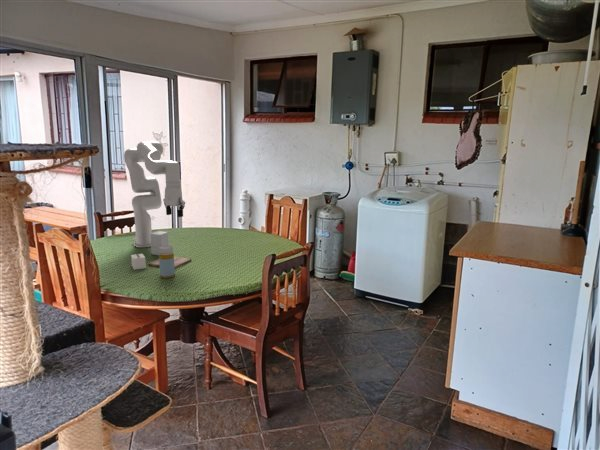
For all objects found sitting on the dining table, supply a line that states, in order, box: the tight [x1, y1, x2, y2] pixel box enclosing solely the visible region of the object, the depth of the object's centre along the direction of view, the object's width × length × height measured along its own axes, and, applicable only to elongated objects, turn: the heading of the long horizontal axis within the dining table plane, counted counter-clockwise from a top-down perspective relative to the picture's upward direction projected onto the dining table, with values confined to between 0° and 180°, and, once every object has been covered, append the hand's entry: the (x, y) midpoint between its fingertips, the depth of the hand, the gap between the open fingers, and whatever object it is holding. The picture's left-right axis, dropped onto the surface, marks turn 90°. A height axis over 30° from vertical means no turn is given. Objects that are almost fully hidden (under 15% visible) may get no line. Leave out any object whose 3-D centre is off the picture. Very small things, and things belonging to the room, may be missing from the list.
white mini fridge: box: [130, 253, 147, 271], centre depth 220 cm, size 6×7×6 cm
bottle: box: [158, 245, 176, 279], centre depth 206 cm, size 7×7×15 cm
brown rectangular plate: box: [148, 252, 192, 269], centre depth 227 cm, size 16×16×5 cm
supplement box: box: [150, 230, 170, 256], centre depth 244 cm, size 7×7×13 cm
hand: (174, 215), depth 229 cm, fingers open, 9 cm apart
